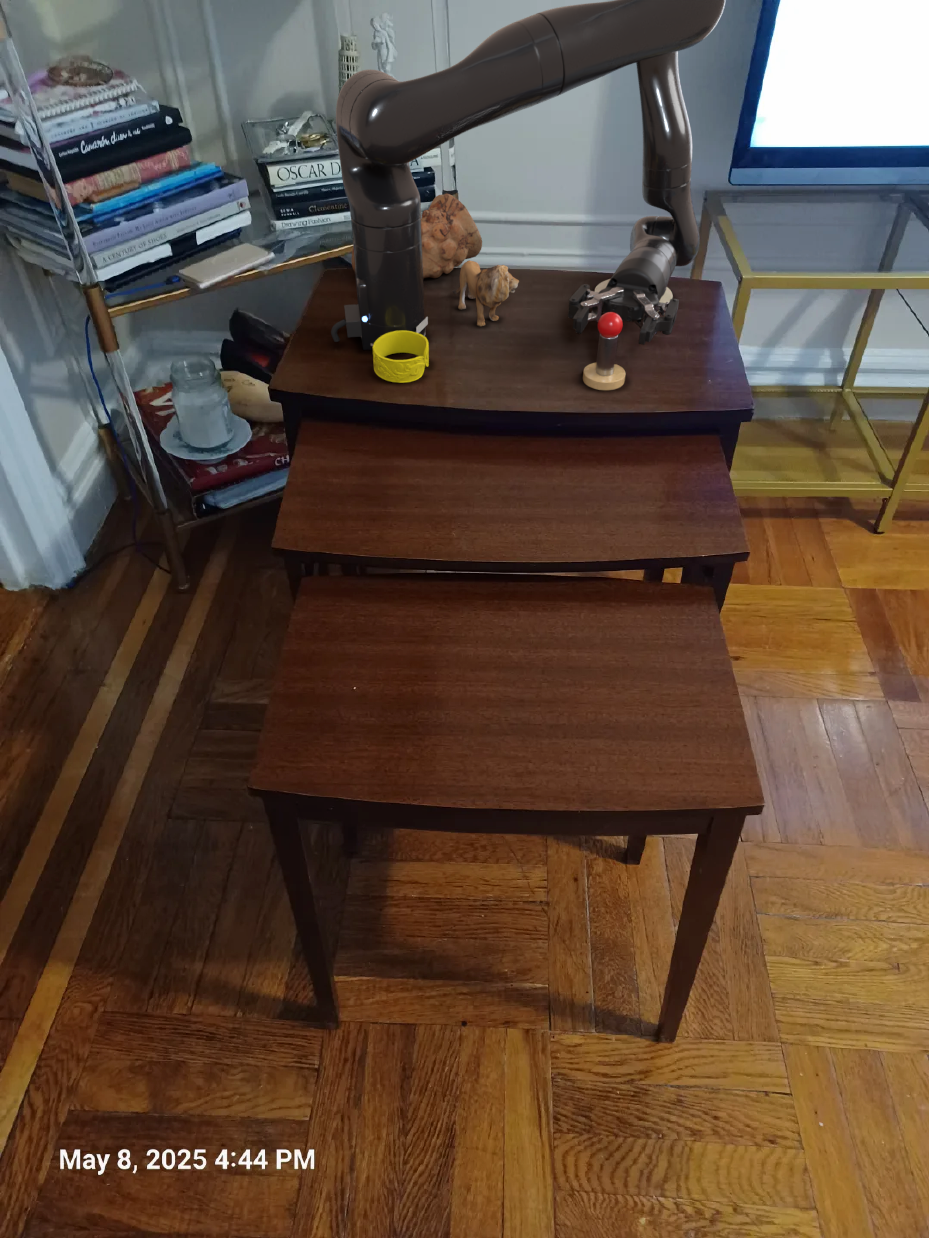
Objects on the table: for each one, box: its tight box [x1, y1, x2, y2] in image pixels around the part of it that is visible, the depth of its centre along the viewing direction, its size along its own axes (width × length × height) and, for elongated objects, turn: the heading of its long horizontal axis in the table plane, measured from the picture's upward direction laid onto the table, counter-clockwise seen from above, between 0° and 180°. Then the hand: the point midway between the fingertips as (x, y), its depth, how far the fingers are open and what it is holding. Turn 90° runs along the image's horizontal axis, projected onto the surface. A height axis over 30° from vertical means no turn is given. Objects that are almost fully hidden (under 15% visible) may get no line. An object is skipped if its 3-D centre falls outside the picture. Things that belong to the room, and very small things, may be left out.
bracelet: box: [372, 330, 430, 384], centre depth 120 cm, size 7×8×3 cm
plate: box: [593, 278, 674, 303], centre depth 137 cm, size 12×12×1 cm
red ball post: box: [582, 312, 626, 391], centre depth 116 cm, size 6×6×9 cm
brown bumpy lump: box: [351, 193, 483, 280], centre depth 141 cm, size 19×11×15 cm
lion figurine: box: [452, 259, 520, 327], centre depth 130 cm, size 15×5×9 cm, turn 33°
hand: (610, 332), depth 115 cm, fingers open, 8 cm apart
